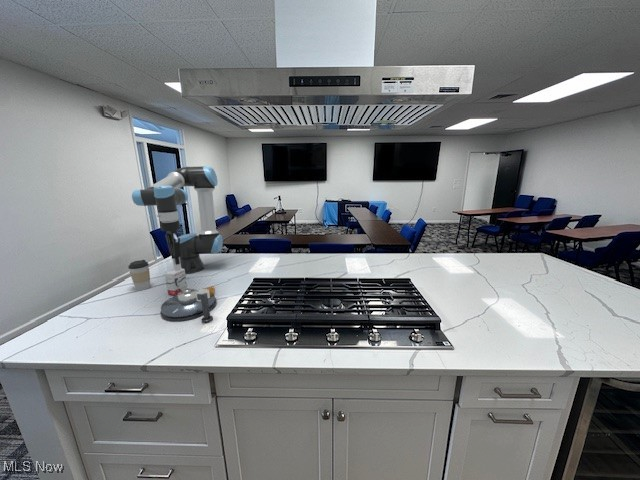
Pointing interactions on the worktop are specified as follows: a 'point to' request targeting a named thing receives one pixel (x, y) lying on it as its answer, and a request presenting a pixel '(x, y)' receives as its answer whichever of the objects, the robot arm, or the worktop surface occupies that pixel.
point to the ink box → (176, 281)
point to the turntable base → (187, 317)
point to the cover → (187, 297)
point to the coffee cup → (140, 274)
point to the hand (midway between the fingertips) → (178, 270)
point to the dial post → (204, 304)
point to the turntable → (185, 306)
